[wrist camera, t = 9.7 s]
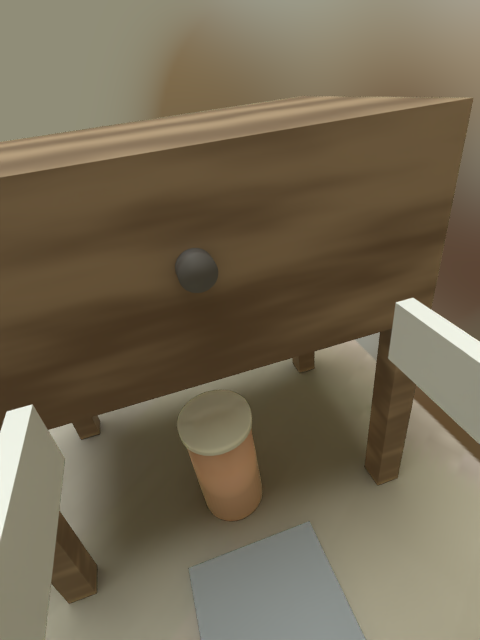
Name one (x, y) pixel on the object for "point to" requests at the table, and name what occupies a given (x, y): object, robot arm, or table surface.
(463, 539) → the table surface
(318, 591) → the mat
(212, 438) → the canister
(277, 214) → the cabinet
